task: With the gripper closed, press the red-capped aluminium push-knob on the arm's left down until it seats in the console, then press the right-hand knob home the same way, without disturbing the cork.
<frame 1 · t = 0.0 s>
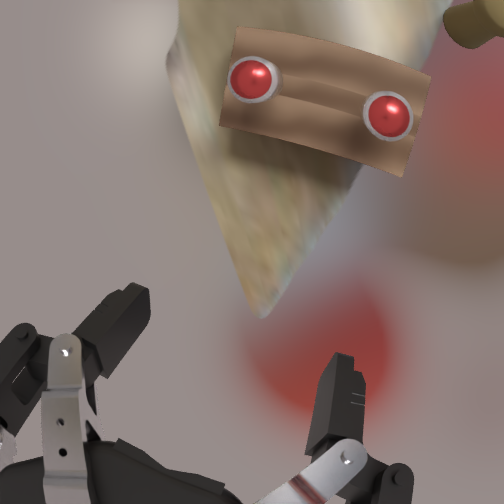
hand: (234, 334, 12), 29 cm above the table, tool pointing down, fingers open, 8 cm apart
console: (325, 94, 31), on the table
cork: (463, 27, 21), on the table
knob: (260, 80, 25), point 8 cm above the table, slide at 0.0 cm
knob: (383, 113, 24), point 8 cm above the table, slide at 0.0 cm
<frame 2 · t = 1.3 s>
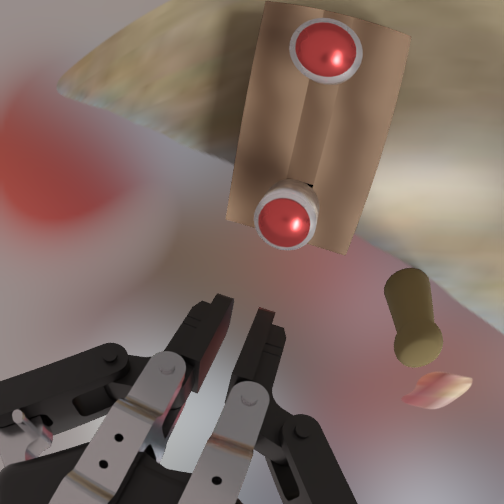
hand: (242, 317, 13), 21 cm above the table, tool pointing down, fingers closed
console: (317, 123, 27), on the table
cork: (407, 287, 33), on the table
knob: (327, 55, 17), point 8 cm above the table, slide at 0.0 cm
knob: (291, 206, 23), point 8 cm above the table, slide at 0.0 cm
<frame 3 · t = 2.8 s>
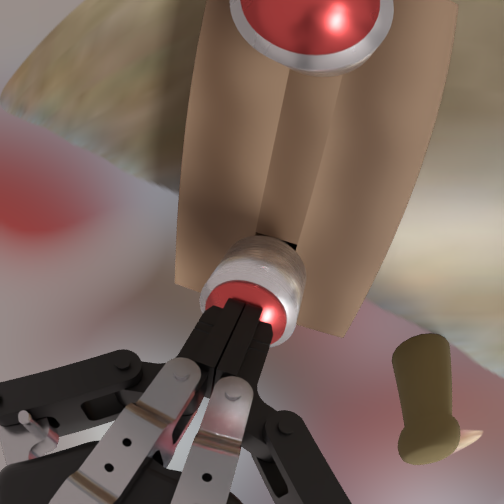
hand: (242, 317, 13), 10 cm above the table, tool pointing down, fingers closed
console: (307, 139, 18), on the table
cork: (421, 354, 24), on the table
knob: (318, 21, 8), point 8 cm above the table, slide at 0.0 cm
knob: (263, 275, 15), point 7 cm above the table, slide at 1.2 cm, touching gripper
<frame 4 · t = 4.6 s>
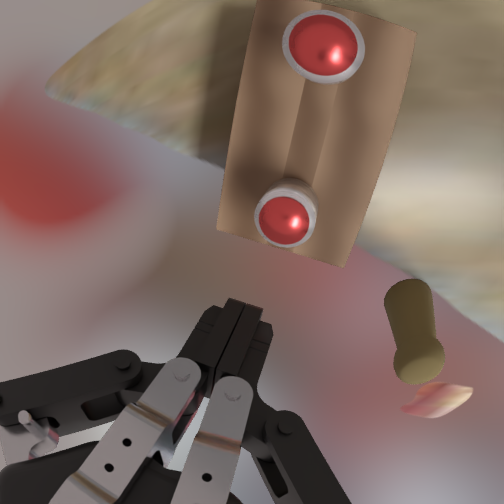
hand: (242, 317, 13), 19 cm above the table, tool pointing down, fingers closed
console: (314, 125, 25), on the table
cork: (408, 299, 31), on the table
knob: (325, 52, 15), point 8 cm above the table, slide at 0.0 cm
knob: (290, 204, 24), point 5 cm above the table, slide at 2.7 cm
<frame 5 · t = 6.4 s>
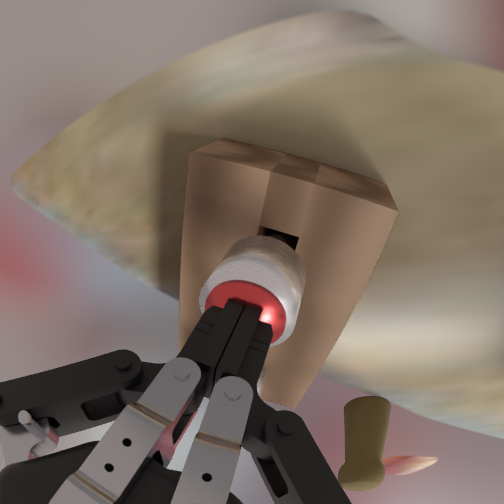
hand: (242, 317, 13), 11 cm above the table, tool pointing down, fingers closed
console: (271, 279, 25), on the table
cork: (367, 407, 31), on the table
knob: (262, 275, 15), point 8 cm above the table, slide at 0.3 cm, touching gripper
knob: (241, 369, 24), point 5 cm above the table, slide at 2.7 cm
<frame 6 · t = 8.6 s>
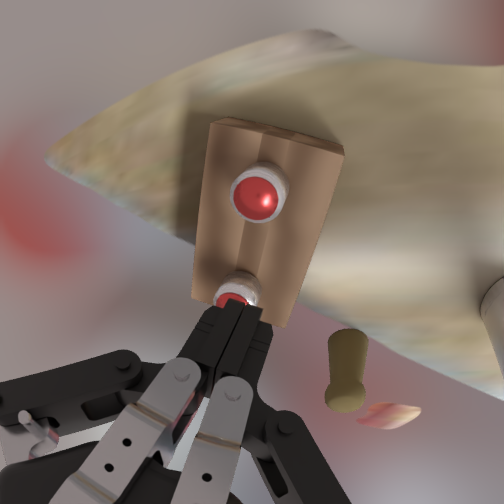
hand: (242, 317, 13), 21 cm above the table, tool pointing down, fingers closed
console: (264, 219, 34), on the table
cork: (348, 342, 41), on the table
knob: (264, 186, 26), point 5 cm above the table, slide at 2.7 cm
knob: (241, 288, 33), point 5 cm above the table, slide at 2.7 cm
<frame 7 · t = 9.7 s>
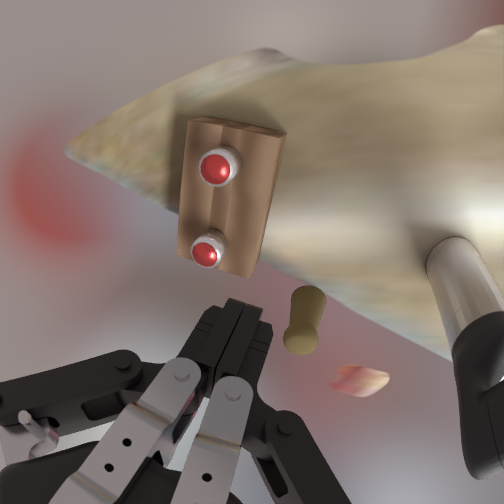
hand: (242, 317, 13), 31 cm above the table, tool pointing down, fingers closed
console: (232, 192, 44), on the table
cork: (308, 299, 50), on the table
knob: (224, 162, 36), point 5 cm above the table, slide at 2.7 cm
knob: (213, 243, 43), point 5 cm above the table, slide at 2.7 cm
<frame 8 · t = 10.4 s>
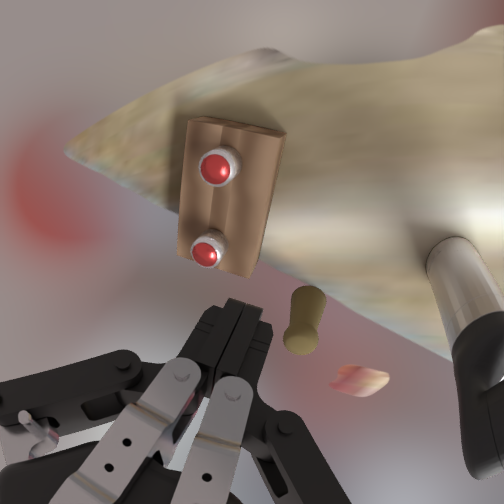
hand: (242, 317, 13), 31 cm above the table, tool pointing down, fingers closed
console: (232, 192, 44), on the table
cork: (308, 299, 50), on the table
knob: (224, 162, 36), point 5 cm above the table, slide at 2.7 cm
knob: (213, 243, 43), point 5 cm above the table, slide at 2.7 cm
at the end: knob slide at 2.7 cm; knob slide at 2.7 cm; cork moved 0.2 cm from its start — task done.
